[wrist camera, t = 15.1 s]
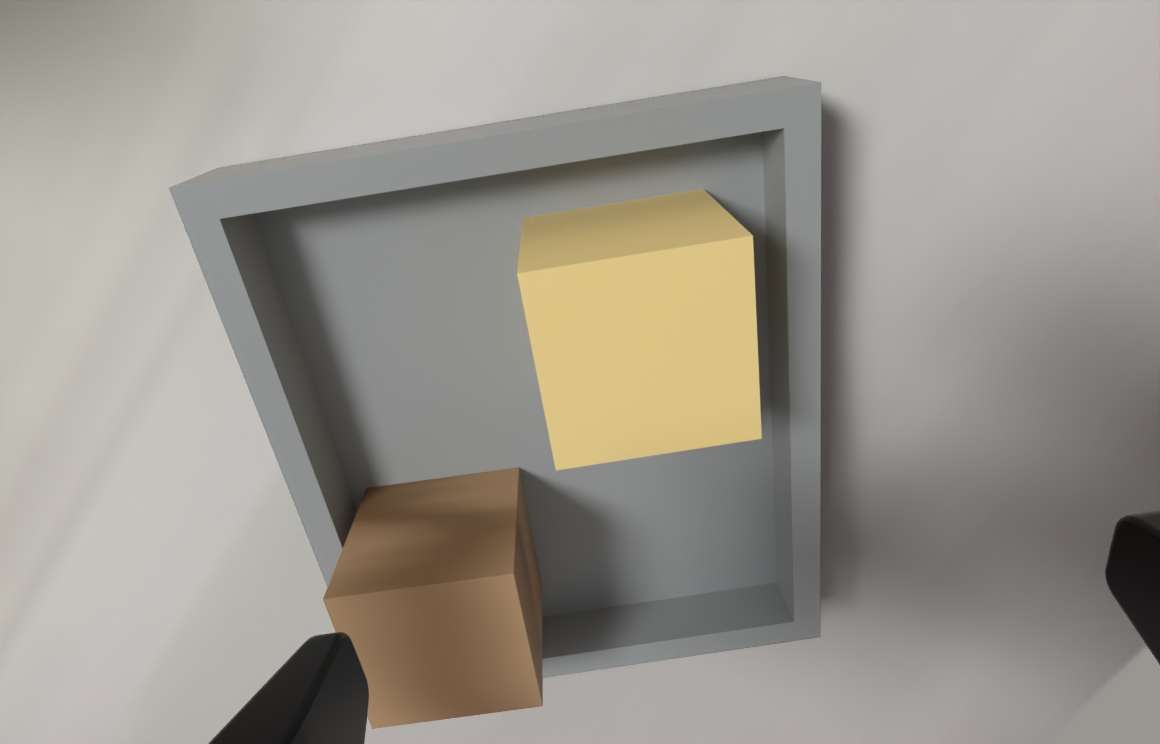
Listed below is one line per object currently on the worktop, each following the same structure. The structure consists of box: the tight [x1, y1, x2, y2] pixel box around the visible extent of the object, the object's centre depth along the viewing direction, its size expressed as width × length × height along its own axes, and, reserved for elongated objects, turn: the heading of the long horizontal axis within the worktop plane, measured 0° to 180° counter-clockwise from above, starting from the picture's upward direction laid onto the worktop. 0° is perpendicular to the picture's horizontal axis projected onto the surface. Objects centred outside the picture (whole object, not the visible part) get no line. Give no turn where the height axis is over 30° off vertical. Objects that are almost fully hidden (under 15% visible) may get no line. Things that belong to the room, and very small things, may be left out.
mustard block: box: [517, 189, 762, 470], centre depth 16 cm, size 4×4×4 cm
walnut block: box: [323, 467, 543, 729], centre depth 19 cm, size 4×4×4 cm
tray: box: [169, 76, 821, 678], centre depth 20 cm, size 14×16×2 cm
